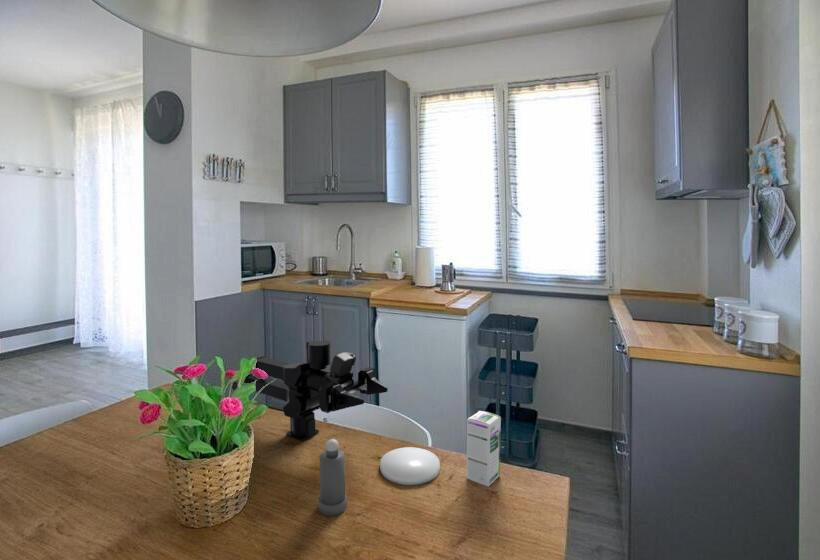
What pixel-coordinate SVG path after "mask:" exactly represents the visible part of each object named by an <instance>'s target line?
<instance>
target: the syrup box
mask: <svg viewBox="0 0 820 560" xmlns="http://www.w3.org/2000/svg"><path fill="white" fill-rule="evenodd" d="M501 422H502V417H501V416H500V415H498V414H496V413H492V412H489V411H483V410H478V411H477V412H476V413H474V414H473V415H471V416H470V417H468V418H467V419H466V479H467V480H470V481H472V482H475V483H477V484H480V485H481V486H485V487H490V485H491V484H493V482H495V481H496V480H497V479H498V478H499V477H500V476H501V437H502V436H501V434H502V433H501Z"/></svg>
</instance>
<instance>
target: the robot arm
mask: <svg viewBox="0 0 820 560" xmlns="http://www.w3.org/2000/svg"><path fill="white" fill-rule="evenodd" d="M305 343H306V344H305V345H306V361H305V362H295V363H288V362H284V361H280V360H276V359H273V358H269V357H266V356H264V355H260V356H257V357H256V356H255V358H257V363H256V368H259V369H261V370H264V371H265V372H266V373H267V374H268V375H267V376H269V377H272V378H269V377H267V379H265V380H263V379H257V378H256V377H255V376H253V375H252V374H250V375H248V376H247V377H246V379H245V381H244V382H245V383H251V382H254V381H255V380H257V381H256V392H255V393H258V391H259V390H260V389H261V388H262V387H263V386H265V385H266V384H268V383H269V382H271V381H273V380H274V382H273V383H271V384H269V385H268V386H266V387H265V388H264V389H263V390H262V391H261V392H260V393H259V394H262V395H265V396H268V397H271V398H274V399H278V400H280V401H283V402H286V404H285V405H284V406H283V408H282V410H283V414H284V417H288V418H289V421H290V422H289V424H290V431H289V430H288V431H287V432H286V434H285V435H286V436H287V437H291V438H293V439H296V440H298V441H301V442H302V441H303V442H304V441H305V440H307V439H308V438H311V437H312V436H314V435H316V434H318V433H319V432H320V430H319V429H316V417H315V415H316V414H315V412H314V411H317V410H320V411H321V412H323V413H326V414H330V413H331V412H337V411H340V410H341V411H342V410H344V409H347V408H352V407H357V406H361V405H364V404H365V399H364V398H362V397H361V396H358V395H356V394H354V393H357V392H360V394H364V395H365V394H366V395H367V396H368V395H377V394H383V393H388V390H389V389H388V387H387V386H386V385H385V384H383V383H382V382H381V381H379V380H378V379H377V378H376V369H375V368H374V367H371V366H367V367H364V368H363V369H360V370H359V371H358V373H357V380H356V381H354V379H353V377H354V372H353V371H352V369H353V366H355V365H356V364H355V363H356V360H357V357H356V356H355V354H354V353H353V352H349V351H348V352H346V351H345V352H341V353H338V354H335V355H334V356H333V358H331V357H332V355H331V353H332V352H331V348H332V347H331V341H329V340H326V339H325V340H316V341H315V340H310V341H307V342H305ZM331 360H332V361H331ZM329 365H330V368H329V371H328V370H325V369H327V368H328V366H329ZM273 378H274V379H273ZM275 378H276V379H279V380H276V379H275ZM281 380H282V381H281ZM236 388H237V382H234V383H233V386H232V387H231V389H232V390H233V391H234V390H235V389H236Z"/></svg>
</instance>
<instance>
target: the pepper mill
mask: <svg viewBox="0 0 820 560" xmlns="http://www.w3.org/2000/svg"><path fill="white" fill-rule="evenodd" d="M339 448H340V444H339V442H338V440H337V439H335V438H331V439H329V440H327V442H326V444H325V449H326V450H325V451H322V452H321V453H320V454H319V497H318V511H319V513H321V514H322V515H324V516H327V517H334V516H338V515H341V514H343V513H344V512H345V511H346V510H347V508H348V499H347V498H348V497H347V493H346V454H345V452H344V451H343V450H340V449H339Z"/></svg>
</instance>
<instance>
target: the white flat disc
mask: <svg viewBox="0 0 820 560" xmlns="http://www.w3.org/2000/svg"><path fill="white" fill-rule="evenodd" d="M440 464H441V463H440V459H439V457H438V456H437V455H436V454H435V453H433V452H432V451H430V450H427V449H424V448H421V447H412V446H411V447H410V446H408V447H406V446H405V447H400V448H399V447H398V448H395V449H392V450H389V451H388V452H387V453H385V454H383V456H382V457H381V459H380V466H379V467H380V472H381V474H382V476H383V477H384V478H385V479H387V480H388V481H389V482H392V483H395V484H399V485H405V486H406V485H407V486H414V485H415V486H416V485H417V486H418V485H422V484H426V483H429V482H431V481H433V480H434V479H435V478H436V477H437V476H439V473H440V467H441V465H440Z"/></svg>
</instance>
